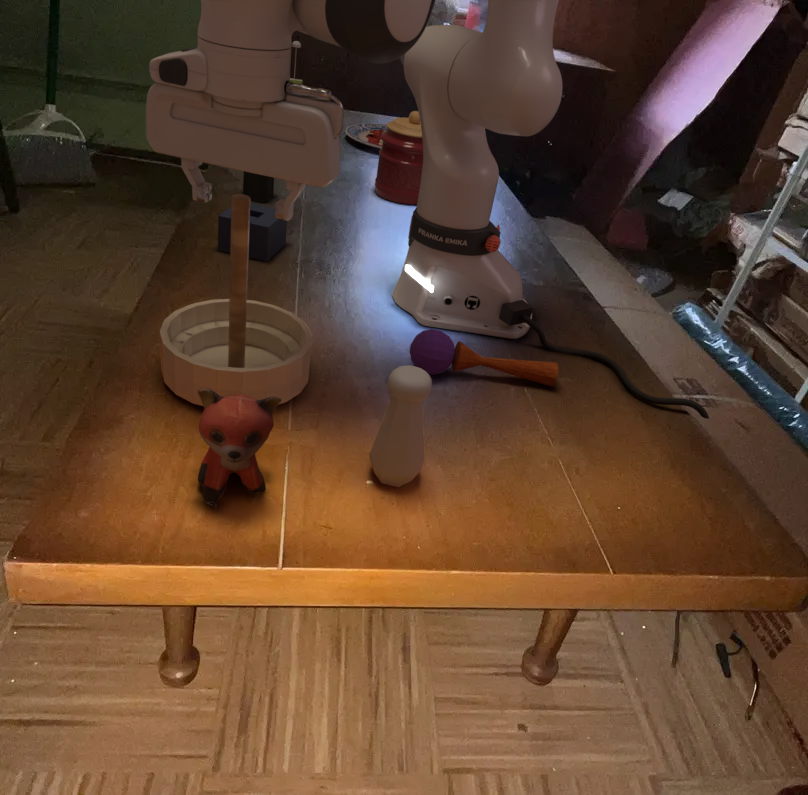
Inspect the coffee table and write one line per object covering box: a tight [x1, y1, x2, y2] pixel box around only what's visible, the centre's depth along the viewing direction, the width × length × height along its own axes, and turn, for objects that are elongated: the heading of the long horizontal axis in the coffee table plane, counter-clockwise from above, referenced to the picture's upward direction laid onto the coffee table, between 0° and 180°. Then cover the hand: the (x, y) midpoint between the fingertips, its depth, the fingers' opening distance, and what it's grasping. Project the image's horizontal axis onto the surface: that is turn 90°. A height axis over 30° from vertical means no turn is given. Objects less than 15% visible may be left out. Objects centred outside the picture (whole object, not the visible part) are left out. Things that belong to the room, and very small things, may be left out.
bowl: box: [159, 298, 313, 407], centre depth 89 cm, size 18×18×6 cm
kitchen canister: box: [374, 110, 423, 205], centre depth 155 cm, size 13×13×18 cm
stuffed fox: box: [197, 389, 282, 508], centre depth 71 cm, size 8×11×12 cm
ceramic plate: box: [344, 122, 388, 151], centre depth 193 cm, size 26×26×3 cm
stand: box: [217, 202, 288, 263], centre depth 122 cm, size 9×9×6 cm
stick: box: [228, 193, 252, 368], centre depth 84 cm, size 2×2×22 cm
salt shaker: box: [369, 365, 433, 488], centre depth 75 cm, size 6×6×13 cm
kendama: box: [409, 328, 559, 387], centre depth 98 cm, size 6×6×20 cm
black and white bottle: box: [242, 171, 275, 203], centre depth 138 cm, size 5×5×25 cm
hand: (242, 209), depth 79 cm, fingers open, 8 cm apart
